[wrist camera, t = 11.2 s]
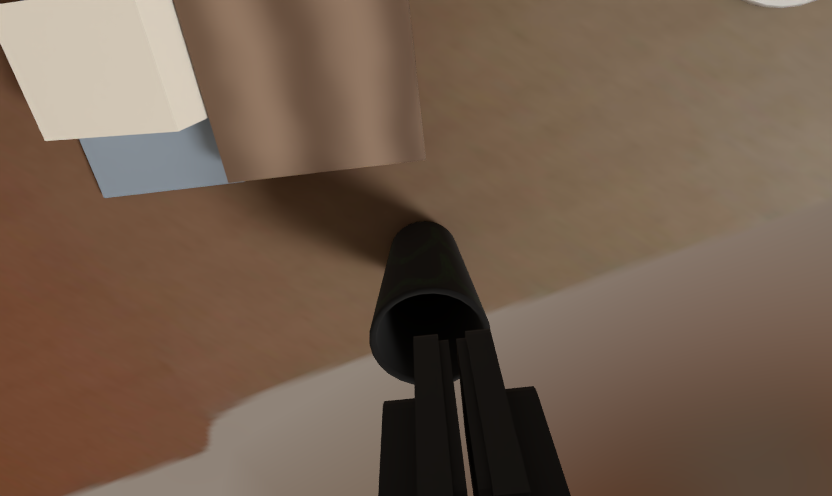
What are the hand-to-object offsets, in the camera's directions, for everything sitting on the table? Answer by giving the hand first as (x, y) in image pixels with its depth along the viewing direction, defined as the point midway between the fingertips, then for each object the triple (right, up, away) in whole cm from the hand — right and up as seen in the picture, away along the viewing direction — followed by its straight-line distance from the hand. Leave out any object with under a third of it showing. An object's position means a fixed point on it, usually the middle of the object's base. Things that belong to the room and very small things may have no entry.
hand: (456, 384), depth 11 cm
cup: (0, +3, +32) cm, 32 cm away
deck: (-8, +17, +24) cm, 30 cm away
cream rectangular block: (-20, +15, +23) cm, 34 cm away
